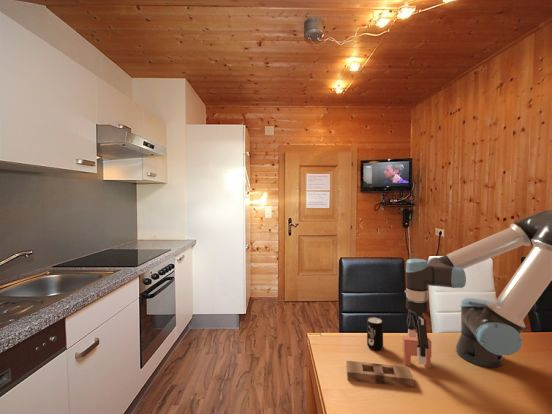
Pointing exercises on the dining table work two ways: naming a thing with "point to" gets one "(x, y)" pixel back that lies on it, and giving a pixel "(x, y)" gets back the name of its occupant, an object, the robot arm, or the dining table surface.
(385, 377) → the grey-brown slotted holder
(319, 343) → the dining table surface
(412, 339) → the pink pronged block
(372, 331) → the beverage can
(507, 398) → the dining table surface
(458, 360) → the dining table surface
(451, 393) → the dining table surface
